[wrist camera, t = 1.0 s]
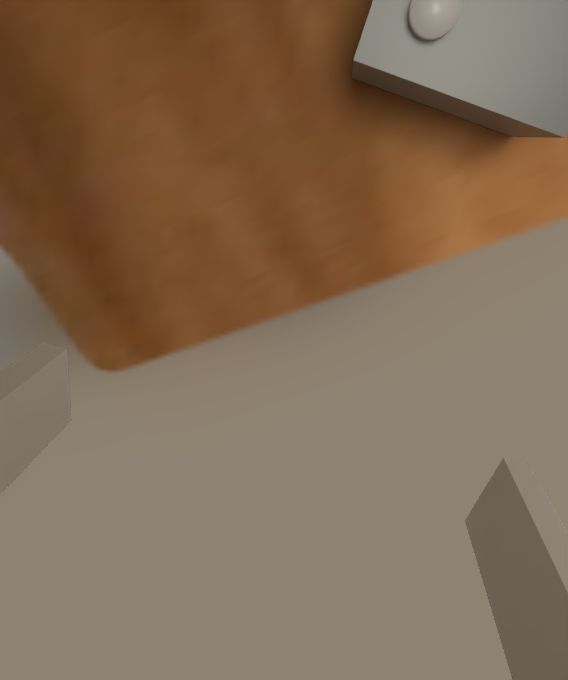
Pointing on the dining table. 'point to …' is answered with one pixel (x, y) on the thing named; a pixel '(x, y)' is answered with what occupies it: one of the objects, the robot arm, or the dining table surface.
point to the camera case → (473, 60)
